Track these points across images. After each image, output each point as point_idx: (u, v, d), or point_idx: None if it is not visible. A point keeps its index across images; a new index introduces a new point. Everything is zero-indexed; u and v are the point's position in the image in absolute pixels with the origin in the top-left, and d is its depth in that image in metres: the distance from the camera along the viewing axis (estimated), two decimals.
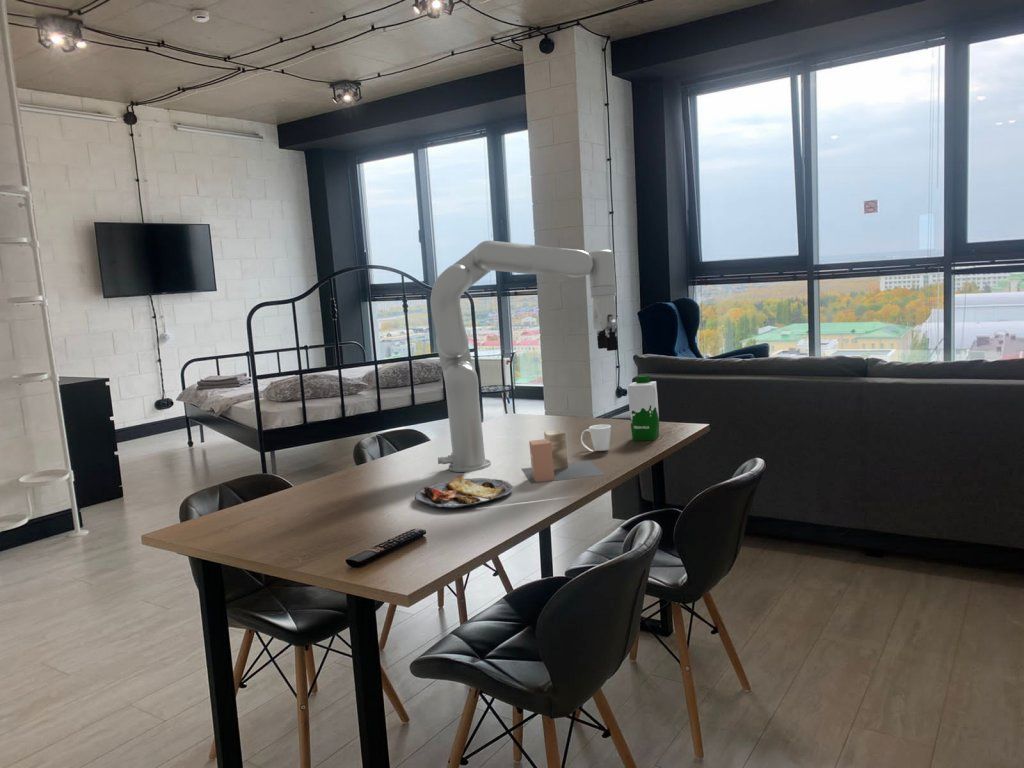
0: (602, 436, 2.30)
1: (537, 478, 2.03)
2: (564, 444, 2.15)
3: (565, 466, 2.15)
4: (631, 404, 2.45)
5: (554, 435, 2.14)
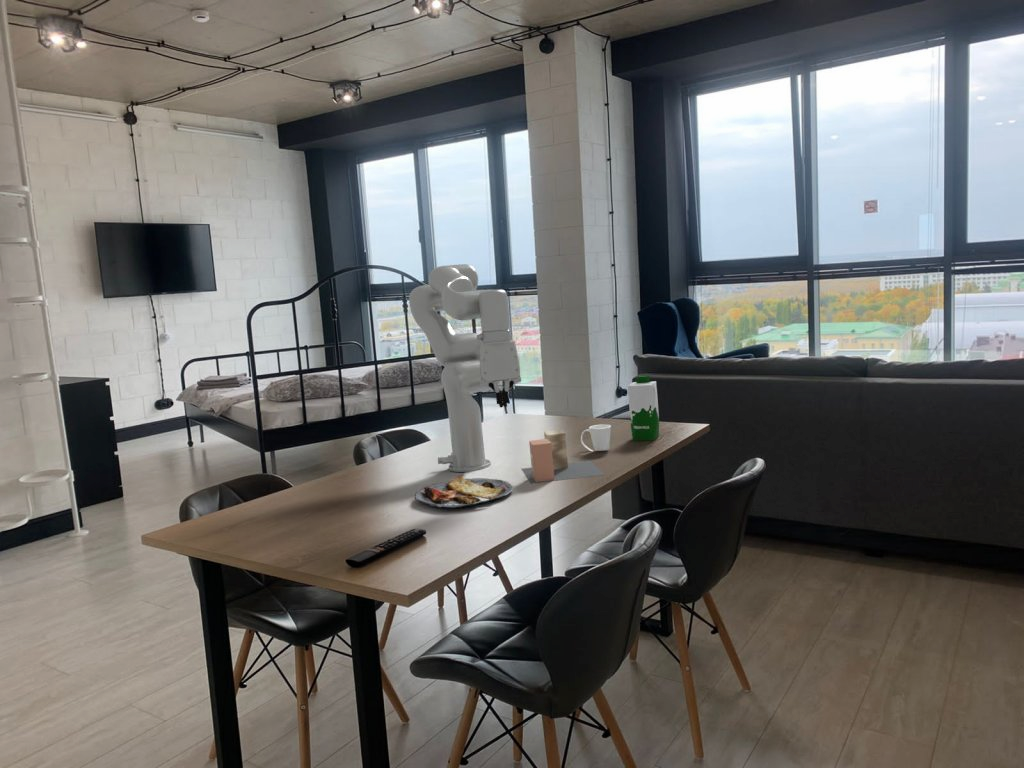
0: (602, 436, 2.30)
1: (537, 478, 2.03)
2: (564, 444, 2.15)
3: (565, 466, 2.15)
4: (631, 404, 2.45)
5: (554, 435, 2.14)
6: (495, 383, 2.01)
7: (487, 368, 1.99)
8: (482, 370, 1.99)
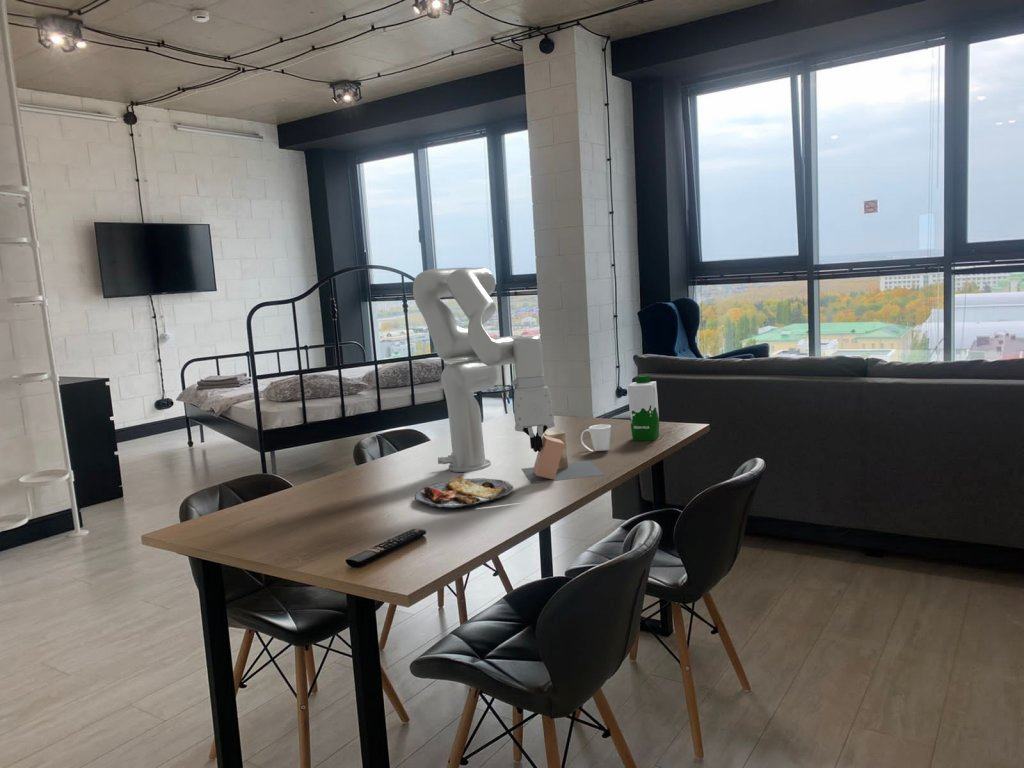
0: (602, 436, 2.30)
1: (539, 472, 2.03)
2: (564, 444, 2.15)
3: (565, 466, 2.15)
4: (631, 404, 2.45)
5: (554, 435, 2.14)
6: (529, 428, 2.03)
7: (521, 414, 2.01)
8: (517, 416, 2.01)
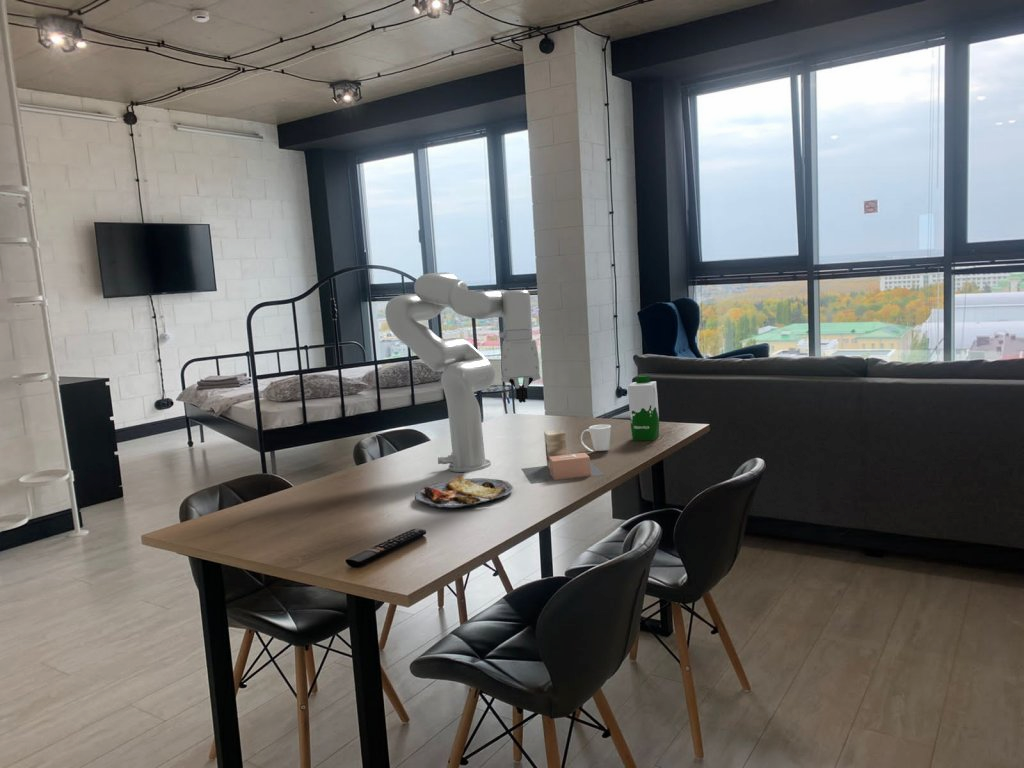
0: (602, 436, 2.30)
1: (556, 462, 2.04)
2: (564, 444, 2.15)
3: None
4: (631, 404, 2.45)
5: (554, 435, 2.14)
6: (515, 379, 2.10)
7: (508, 365, 2.08)
8: (503, 367, 2.08)
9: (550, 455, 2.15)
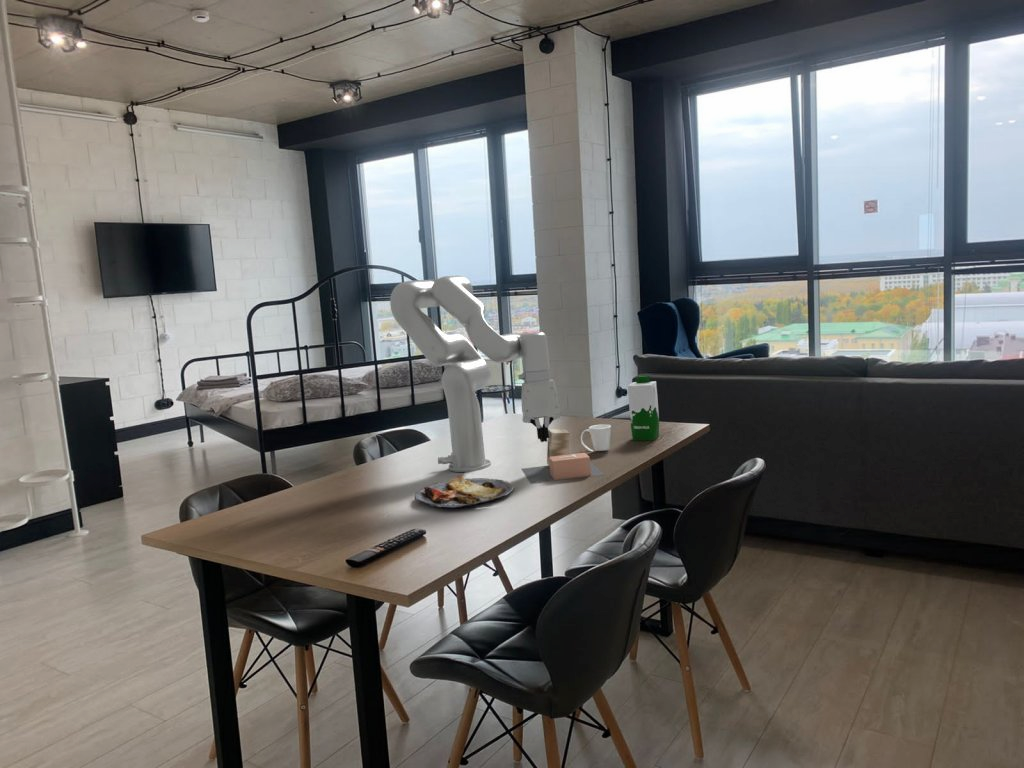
0: (602, 436, 2.30)
1: (556, 462, 2.04)
2: (567, 444, 2.15)
3: None
4: (631, 404, 2.45)
5: (558, 433, 2.14)
6: (536, 419, 2.14)
7: (529, 406, 2.12)
8: (524, 408, 2.12)
9: (552, 453, 2.15)
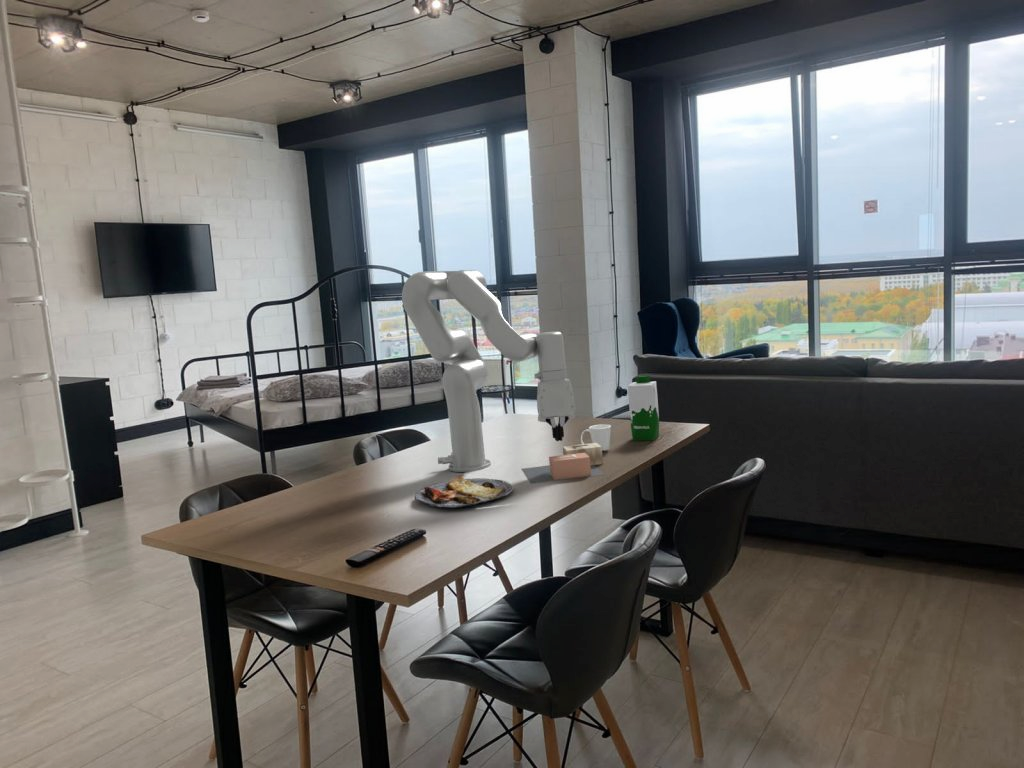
0: (602, 436, 2.30)
1: (556, 462, 2.04)
2: (591, 463, 2.16)
3: None
4: (631, 404, 2.45)
5: (601, 453, 2.16)
6: (552, 418, 2.15)
7: (545, 405, 2.13)
8: (540, 407, 2.13)
9: (581, 449, 2.15)
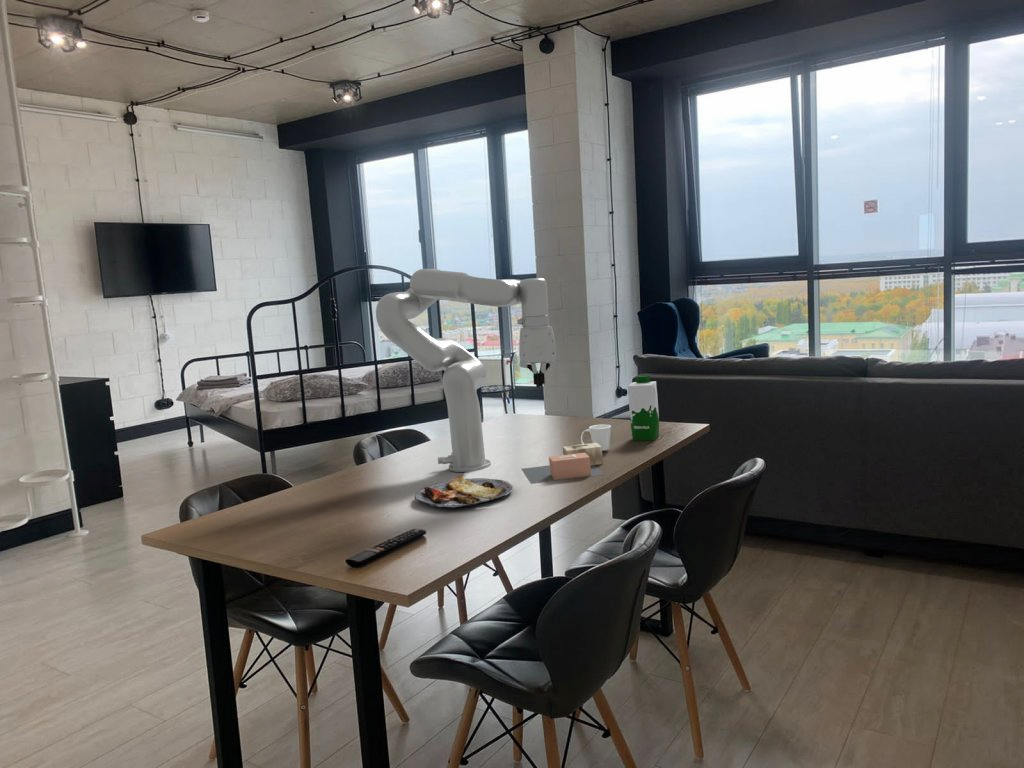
0: (602, 436, 2.30)
1: (556, 462, 2.04)
2: (591, 463, 2.16)
3: None
4: (631, 404, 2.45)
5: (601, 453, 2.16)
6: (533, 364, 2.17)
7: (526, 351, 2.14)
8: (521, 352, 2.15)
9: (581, 449, 2.15)
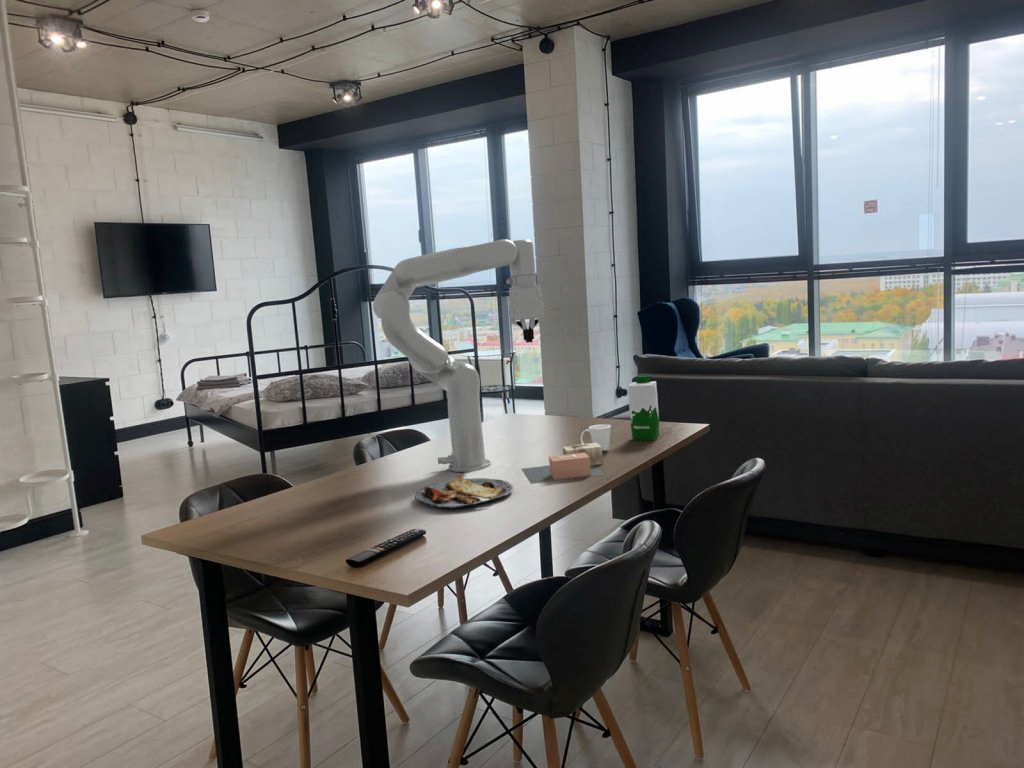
0: (602, 436, 2.30)
1: (556, 462, 2.04)
2: (591, 463, 2.16)
3: None
4: (631, 404, 2.45)
5: (601, 453, 2.16)
6: (522, 321, 2.31)
7: (516, 308, 2.29)
8: (511, 309, 2.29)
9: (581, 449, 2.15)
